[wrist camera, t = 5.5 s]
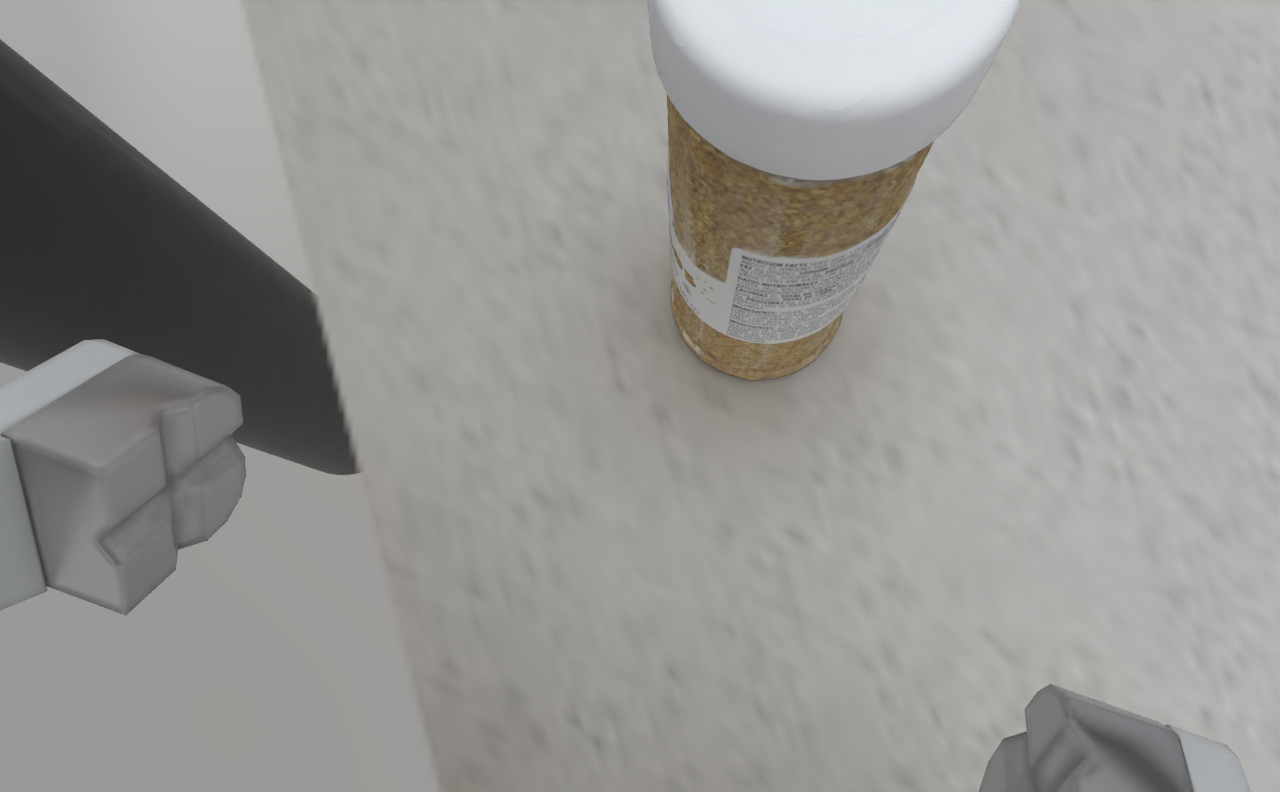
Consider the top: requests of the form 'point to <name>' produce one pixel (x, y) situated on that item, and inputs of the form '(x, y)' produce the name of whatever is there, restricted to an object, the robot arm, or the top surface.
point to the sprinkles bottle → (799, 154)
